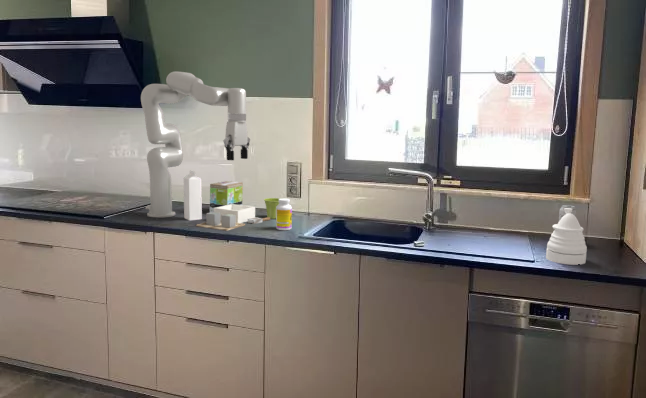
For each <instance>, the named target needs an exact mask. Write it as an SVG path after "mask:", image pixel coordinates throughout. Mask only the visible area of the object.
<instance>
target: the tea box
mask: <svg viewBox="0 0 646 398" xmlns="http://www.w3.org/2000/svg"><path fill="white" fill-rule="evenodd" d="M243 188H244V185H243V181H241V182H240V181H232V180H231V181H230V180H229V181H228V180H224V181H220V182H219V181H218V182H214V183H209V213H210V212H214V208H216V207H221V206H225V205H230V204H235V205H243V191H244V189H243Z"/></svg>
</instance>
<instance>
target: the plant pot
mask: <svg viewBox="0 0 646 398" xmlns="http://www.w3.org/2000/svg"><path fill="white" fill-rule="evenodd" d="M279 199H281V198H278V197H277V198H276V197H267V198H263V200H264V204H265V210H266V216H267V217H270V220H272V219H273V220H274V219H275V220H276V207H277V205H279ZM267 217H266V218H267Z"/></svg>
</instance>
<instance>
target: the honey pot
mask: <svg viewBox="0 0 646 398" xmlns="http://www.w3.org/2000/svg"><path fill="white" fill-rule="evenodd" d="M564 210H565V213H566V215H564V216H563V217H562V218H561V219H560V221H559V220H558V223H555V224H552V228H553V232H552V233H551V235H550V237H549V240H548V241H547V244H546V254H545V259H546V260H547V261H551V262H552V263H558V264H562V265H570V266H571V265H572V266H575V265H577V266H579V265H578V264H580V265H584V264H586V260H587V251H588V249H587V248H588V247H587V244H586V241H585V238H586V237H585V236H584V233H583V231H584V227H583V226H581V224H580V222H579V219H578V218H577V216H576V217H575V216H574V215H573V214H571V212H572V209H571V208H564Z"/></svg>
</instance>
